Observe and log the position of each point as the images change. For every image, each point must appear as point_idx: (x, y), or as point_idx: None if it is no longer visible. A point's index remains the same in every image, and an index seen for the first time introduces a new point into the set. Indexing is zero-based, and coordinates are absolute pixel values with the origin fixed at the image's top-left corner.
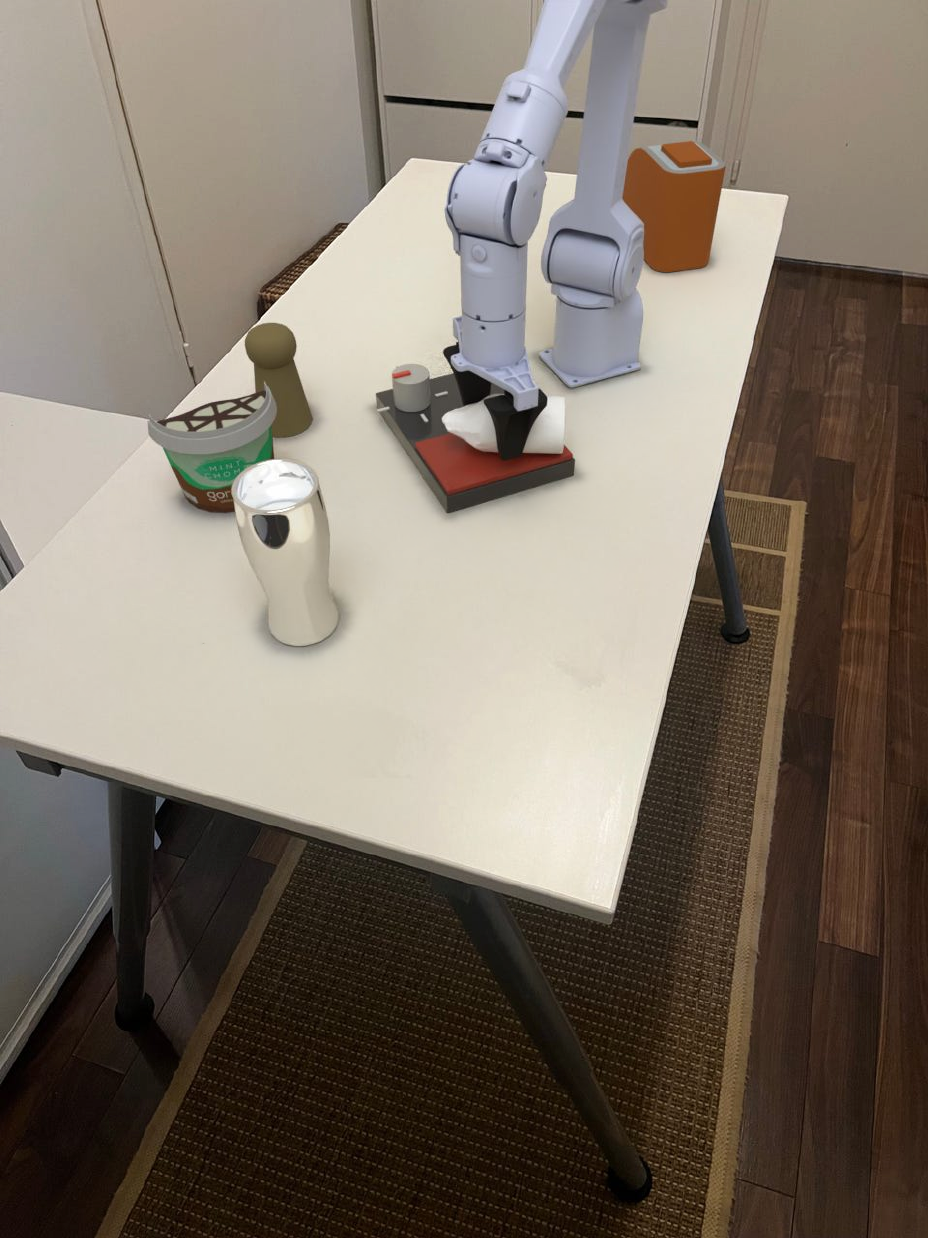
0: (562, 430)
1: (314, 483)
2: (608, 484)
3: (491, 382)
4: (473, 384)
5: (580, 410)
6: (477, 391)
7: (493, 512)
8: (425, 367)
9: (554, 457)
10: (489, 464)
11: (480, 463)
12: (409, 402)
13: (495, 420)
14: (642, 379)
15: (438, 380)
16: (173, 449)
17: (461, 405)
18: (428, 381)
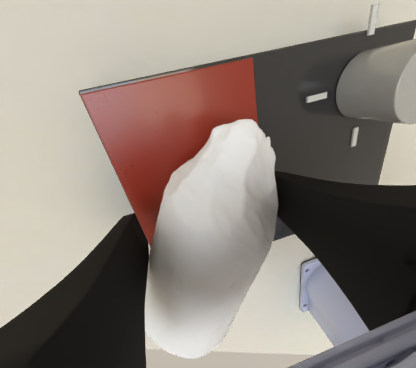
0: (145, 328)
1: None
2: None
3: (306, 245)
4: (313, 216)
5: (268, 268)
6: (298, 213)
7: (94, 166)
8: None
9: None
10: (160, 183)
11: (164, 170)
12: (359, 72)
13: (21, 321)
14: (287, 308)
15: (382, 138)
16: None
17: (318, 161)
18: (386, 118)
